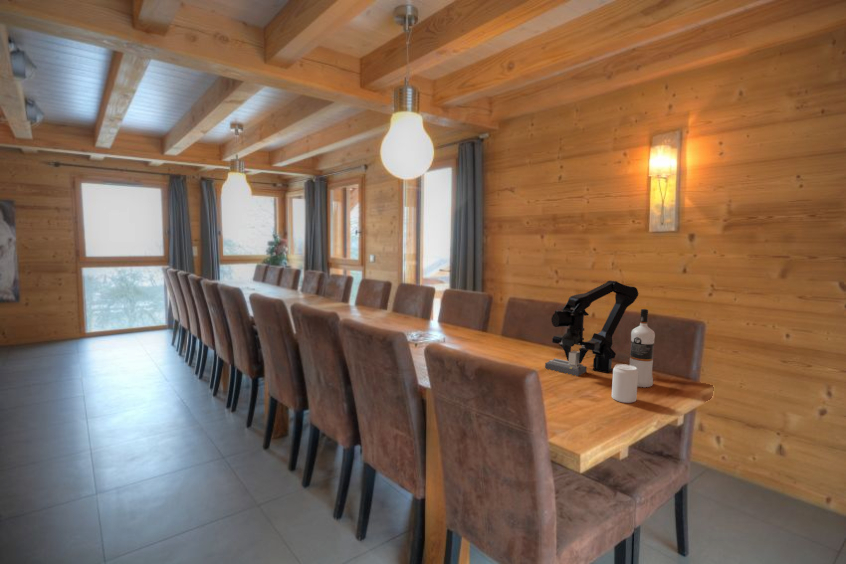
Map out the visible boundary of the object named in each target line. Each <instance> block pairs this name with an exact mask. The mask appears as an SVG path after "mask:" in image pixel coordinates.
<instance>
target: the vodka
mask: <svg viewBox="0 0 846 564" xmlns="http://www.w3.org/2000/svg"><path fill="white" fill-rule="evenodd" d="M639 318H640V320H639V321H640V322H639V325H638V326H636V327H635V328H633V329H631V332H630V354H629V355H630V357H629V365H631V366H634V367H636V368H637V371H638V383H637V388H642V387H643V388H646V387H647V388H650V387H652V386H653V385H654V379H653V365H654V364H653V363H654V348H655V347H654V344H655V339H656V338H655V337H656V333H655V331H654V330H653V329H652V328H650V327H649V326H648V319H649V309H646V308H641V309H640V317H639Z"/></svg>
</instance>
